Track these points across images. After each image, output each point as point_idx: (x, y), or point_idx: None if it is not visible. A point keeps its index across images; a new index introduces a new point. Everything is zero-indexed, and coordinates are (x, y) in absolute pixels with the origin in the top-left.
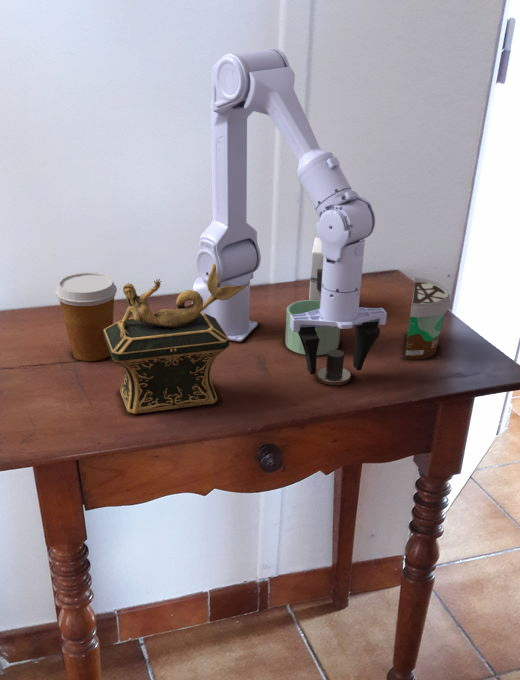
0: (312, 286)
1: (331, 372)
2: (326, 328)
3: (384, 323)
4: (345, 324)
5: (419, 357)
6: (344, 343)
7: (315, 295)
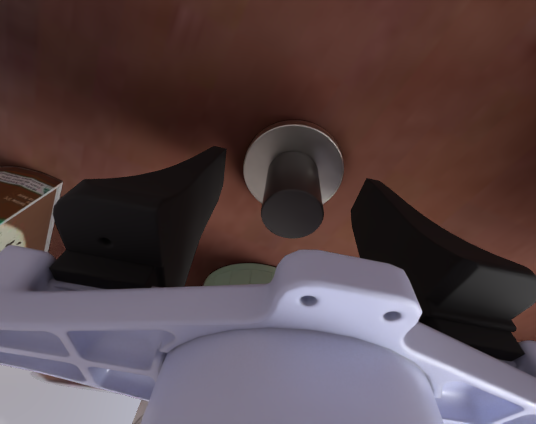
0: None
1: (314, 167)
2: None
3: (9, 251)
4: (372, 300)
5: (16, 169)
6: (190, 280)
7: None
